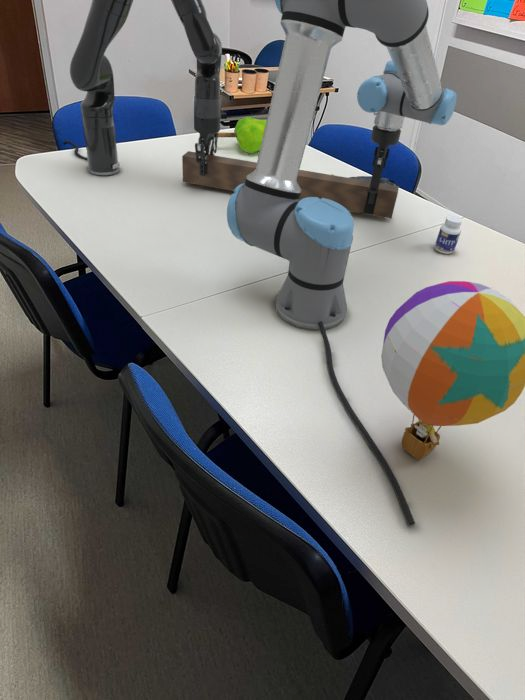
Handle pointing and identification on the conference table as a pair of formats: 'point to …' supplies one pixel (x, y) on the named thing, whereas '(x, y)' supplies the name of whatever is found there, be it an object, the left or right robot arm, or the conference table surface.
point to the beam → (311, 183)
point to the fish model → (368, 178)
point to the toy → (453, 358)
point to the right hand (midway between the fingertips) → (369, 209)
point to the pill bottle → (448, 235)
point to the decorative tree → (248, 134)
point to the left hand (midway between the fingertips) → (206, 172)
